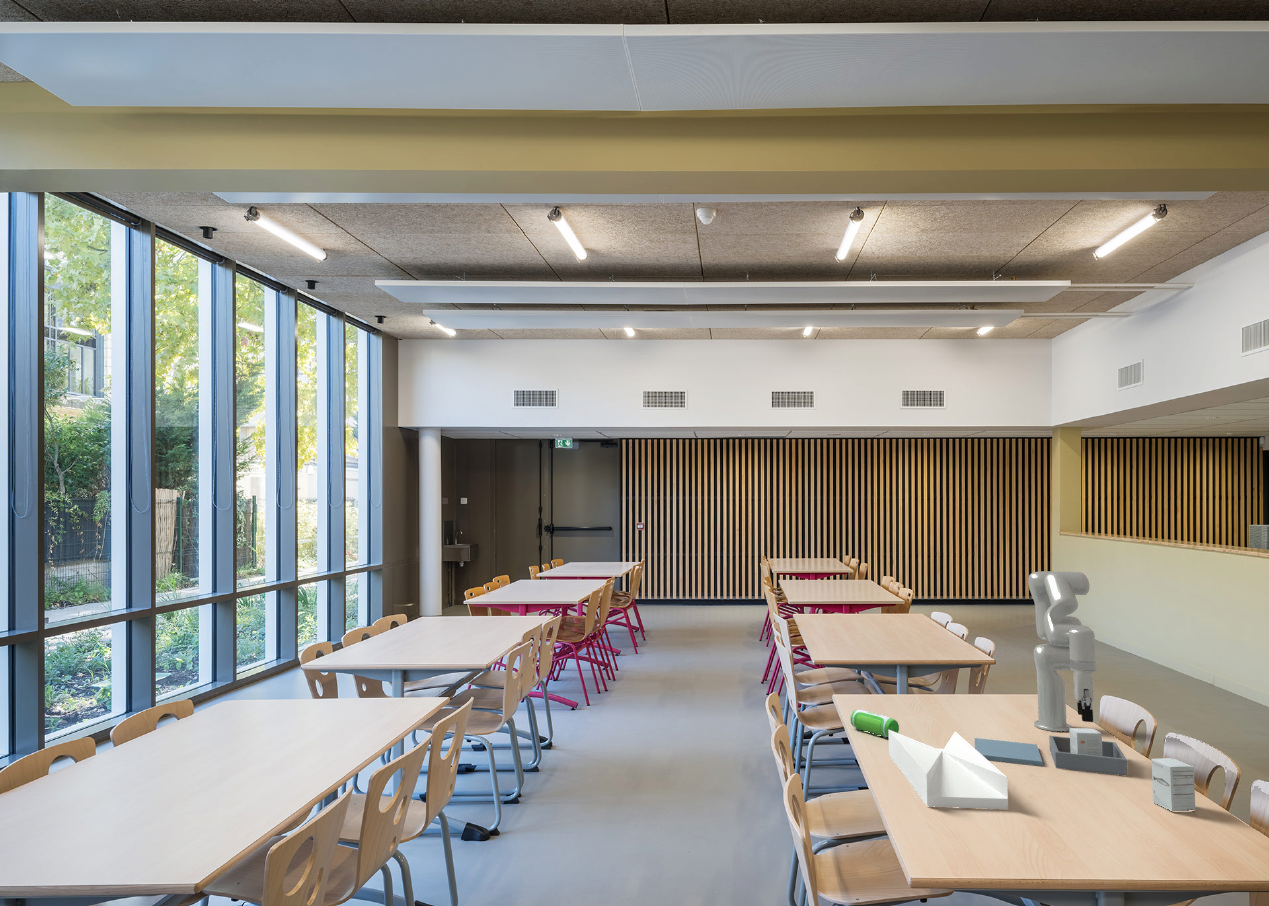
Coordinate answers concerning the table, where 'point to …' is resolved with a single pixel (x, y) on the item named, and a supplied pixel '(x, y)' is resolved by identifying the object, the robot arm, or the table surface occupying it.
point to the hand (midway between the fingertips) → (1085, 718)
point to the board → (1009, 751)
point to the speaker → (873, 723)
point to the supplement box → (1173, 784)
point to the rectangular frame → (1088, 757)
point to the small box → (1086, 741)
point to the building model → (949, 773)
